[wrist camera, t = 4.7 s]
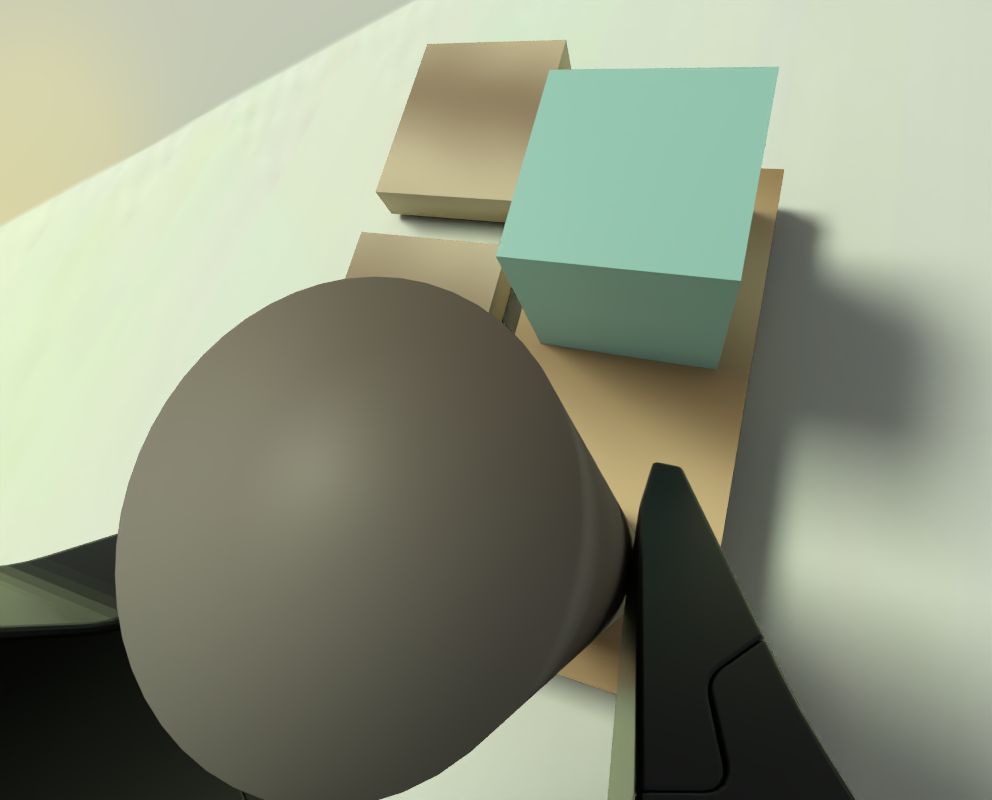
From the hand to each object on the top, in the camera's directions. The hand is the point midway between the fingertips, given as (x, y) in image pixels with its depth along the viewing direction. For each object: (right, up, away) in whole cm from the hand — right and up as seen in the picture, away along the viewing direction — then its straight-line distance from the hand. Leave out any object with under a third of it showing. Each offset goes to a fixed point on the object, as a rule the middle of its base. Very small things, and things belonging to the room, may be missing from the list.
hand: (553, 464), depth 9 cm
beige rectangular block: (-2, +6, +10) cm, 12 cm away
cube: (+3, +4, +6) cm, 8 cm away
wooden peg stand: (+2, +1, +7) cm, 7 cm away
